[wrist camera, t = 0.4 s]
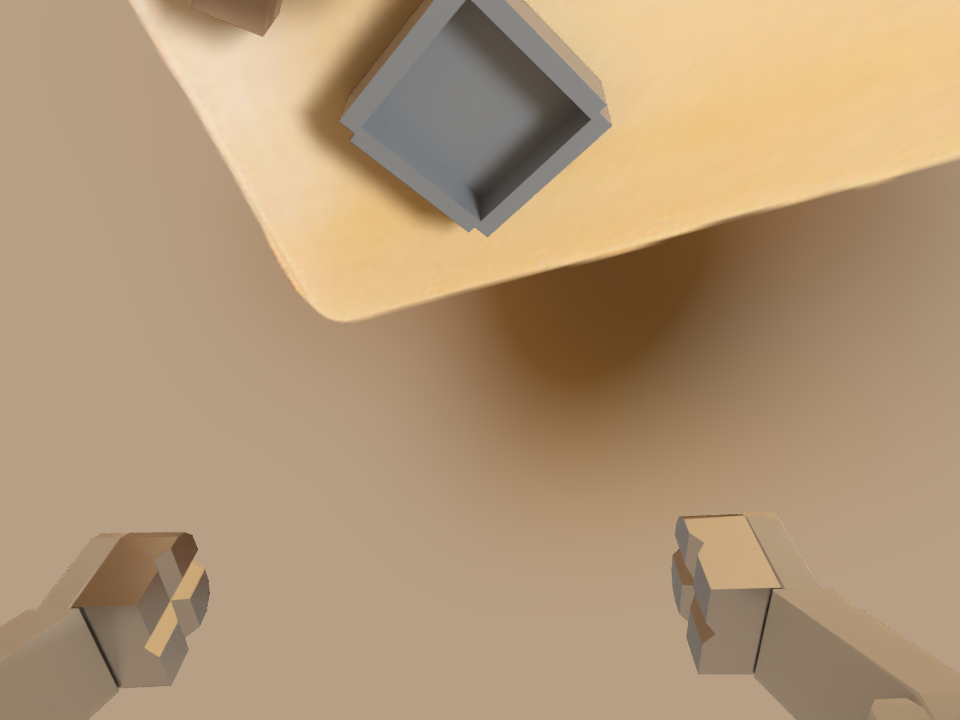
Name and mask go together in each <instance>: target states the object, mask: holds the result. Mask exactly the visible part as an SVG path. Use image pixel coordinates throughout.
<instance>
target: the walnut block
mask: <svg viewBox="0 0 960 720" xmlns="http://www.w3.org/2000/svg"><path fill="white" fill-rule="evenodd" d="M280 6H281V0H192V8H193V9H195V10H198V11H200V12H203V13H205V14H208V15H210V16H213V17H215V18H218V19H220V20H223V21H225V22H228V23H230V24H233V25H235V26H237V27H240V28H242V29H245V30H247V31H250V32H252V33H255V34H257V35H260V36H262V37H263V36H264V35H265V33H266V32H267V30H268V29H269V27H270V26H271V25H272V23H273V22H274V20H275V19H276V17H277V16H278V14H279V12H280Z"/></svg>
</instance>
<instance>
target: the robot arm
mask: <svg viewBox="0 0 960 720" xmlns="http://www.w3.org/2000/svg"><path fill="white" fill-rule="evenodd" d="M675 537H676V539H677V542H678V545H679V548H680V549H678V550H677V552H676V553H674V555H673V558H672V584H673V585H672V586H673V592H674V597H675V601H676V605H677V608H678V612H679V614H680V615H681V616H682V617H684V618H685V619H686V620H687V621H688V629H687V641H688V644H689V647H690V650H691V653H692V656H693V659H694V662H695V665H696V668H697V672H698V674H755V675H754V678H756V680H758V681H759V683H760V684H761V685H762V686H763V687H764V688H765V689H766V690H767V691H768V692H769V693H770V694H771V695H772V696H773V697H774V698H775V699H776V700H777V701H778V702H779V703H780V704H781V705H782V706H783V707H784V708H785V709H786V710H787V711H788V712H789V713H790V714H791V715H792V716H793V717H794V718H795V719H796V720H960V674H959V673H958V672H956V671H955V670H953V669H952V668H950V667H949V666H947V665H946V664H944V663H943V662H941V661H940V660H938V659H937V658H935V657H934V656H932V655H930V654H929V653H927V652H926V651H924V650H923V649H921V648H920V647H918V646H917V645H915V644H914V643H912V642H911V641H909V640H908V639H906V638H905V637H903V636H902V635H900V634H899V633H897V632H896V631H894V630H893V629H891V628H890V627H888V626H886V625H885V624H883V623H882V622H880V621H879V620H877V619H876V618H874V617H873V616H871V615H870V614H868V613H867V612H865V611H863V610H862V609H861V608H859V607H858V606H856V605H854V604H853V603H851V602H850V601H848V600H847V599H845V598H844V597H842V596H841V595H839V594H838V593H836V592H835V591H833V590H832V589H830V588H819V586H818V584H817V582H816V581H815V579H814V577H813V576H812V574H811V573H810V570H809V569H808V567H807V565H806V563H805V562H804V560H803V558H802V557H801V555H800V553H799V552H798V550H797V548H796V546H795V545H794V543H793V541H792V539H791V538H790V536H789V534H788V533H787V531H786V529H785V527H784V526H783V524H782V522H781V520H780V519H779V517H778V516H777V515H776V514H774V513H773V512H761V513H742V514H728V515H701V516H679V518H678V521H677V523H676V531H675ZM197 551H198V548H197V545H196V543H195V540H194V538H193V535H191V534H188V533H186V532H158V533H156V532H155V533H128V534H126V533H123V534H122V533H121V534H120V533H118V534H117V533H109V534H107V533H102V534H99V535H97V536H95V537H93V538H91V540H90V541H89V542H88V543H87V545H86V546H85V547H84V549H83V550H82V551H81V553H80V554H79V555H78V556H77V558H76V559H75V560H74V562H73V563H72V564H71V565H70V567H69V568H68V569H67V571H66V572H65V573H64V574H63V576H62V577H61V578H60V580H59V581H58V583H57V584H56V585H55V586H54V587H53V589H52V590H51V591H50V593H49V594H48V596H47V597H46V598H45V599H44V600H43V602H42V603H41V604H40V606H39V607H38V608H37V609H36V610H26V611H24V612H23V613H21V614H20V615H18V616H16V617H15V618H13V619H12V620H10V621H8V622H7V623H5V624H4V625H2V626H0V720H89V719H90V718H91V717H92V716H93V715H94V714H95V713H96V712H97V711H99V709H101V708H102V706H104V705H105V704H106V703H107V702H108V701H109V700H110V699H111V698H112V697H113V696H114V695H115V694H117V693H118V692H119V690H118V688H135V687H155V686H171V685H172V683H173V681H174V679H175V677H176V675H177V673H178V671H179V669H180V666H181V664H182V662H183V660H184V658H185V656H186V654H187V652H188V650H189V649H188V646H187V643H186V639H185V638H186V637H187V636H188V635H189V634H191V633H192V632H193V631H194V630H196V629H197V628H198V627H199V626H200V625H201V622H202V620H203V618H204V616H205V613H206V611H207V606H208V600H209V595H210V591H209V580H208V577H207V574H206V571H205V569H204V568H203V567H202V566H200V565H199V564H198V563H197V562H195V561H194V560H193V558H194V556H195V554H196V553H197Z"/></svg>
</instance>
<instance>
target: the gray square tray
mask: <svg viewBox="0 0 960 720" xmlns="http://www.w3.org/2000/svg"><path fill="white" fill-rule="evenodd" d="M339 122H340V123H342V124H343V125H344V126H346V127H347V128H348V129H349V130H351V131H352V132H353V134H352V137H351V139H350V141H351V142H352V143H353V144H354V145H356V146H357V147H358V148H360V149H361V150H362V151H364V152H365V153H366V154H367V155H369V156H370V157H371V158H373V159H374V160H375V161H377V162H378V163H379V164H380V165H382V166H383V167H384V168H386V169H387V170H388V171H390V172H391V173H392V174H393V175H395V176H396V177H397V178H399V179H400V180H401V181H403V182H404V183H405V184H406V185H408V186H409V187H410V188H412V189H413V190H414V191H415V192H417V193H418V194H419V195H421V196H422V197H423V198H425V199H426V200H427V201H428V202H430V203H431V204H432V205H434V206H435V207H436V208H438V209H439V210H440V211H441V212H443V213H444V214H445V215H447V216H448V217H449V218H451V219H452V220H453V221H454V222H456V223H457V224H458V225H460V226H461V227H462V228H464V229H465V230H466V231H467V232H470V231H471V230H472V229H473V228H474V227H475V228H476V229H478V230H479V231H480V232H482V233H483V234H484V235H485V236H487V237H488V236H490V235H491V234H492V233H493V232H494V231H495V230H496V229H497V228H499V227H500V226H501V225H502V224H503V223H504V222H505V221H506V220H507V219H509V218H510V217H511V216H512V215H513V214H514V213H515V212H516V211H517V210H519V209H520V208H521V207H522V206H523V205H524V204H525V203H526V202H528V201H529V200H530V199H531V198H532V197H533V196H534V195H535V194H536V193H538V192H539V191H540V190H541V189H542V188H543V187H544V186H545V185H547V184H548V183H549V182H550V181H551V180H552V179H553V178H554V177H555V176H557V175H558V174H559V173H560V172H561V171H562V170H563V169H564V168H566V167H567V166H568V165H569V164H570V163H571V162H572V161H573V160H574V159H576V158H577V157H578V156H579V155H580V154H581V153H582V152H583V151H584V150H586V149H587V148H588V147H589V146H590V145H591V144H592V143H593V142H595V141H596V140H597V139H598V138H599V137H600V136H601V135H602V134H603V133H605V132H606V131H607V130H608V129H609V128H610V127H611V126H612V123H611V119H610V115H609V111H608V107H607V103H606V99H605V95H604V91H603V87H602V83H601V81H600V80H599V78H598V77H597V76H596V75H595V74H594V73H593V72H592V71H591V70H590V69H589V68H588V67H587V66H586V65H585V64H584V63H583V62H582V61H581V60H580V59H579V58H578V56H577V55H576V54H575V53H574V52H573V51H572V50H571V49H570V48H569V47H568V46H567V45H566V44H565V43H564V42H563V41H562V40H561V39H560V38H559V37H558V36H557V34H556V33H555V32H554V31H553V30H552V29H551V28H550V27H549V26H548V25H547V24H546V23H545V22H544V21H543V20H542V19H541V18H540V17H539V16H538V15H537V14H536V12H535V11H534V10H533V9H532V8H531V7H530V6H529V5H528V4H527V3H526V2H525V1H524V0H424V1H423V2H422V3H421V4H420V6H419V7H418V8H417V10H416V11H415V12H414V13H413V15H412V16H411V17H410V19H409V20H408V21H407V22H406V24H405V25H404V26H403V28H402V29H401V30H400V31H399V33H398V34H397V35H396V37H395V38H394V39H393V40H392V42H391V43H390V44H389V46H388V47H387V48H386V49H385V51H384V52H383V53H382V54H381V56H380V57H379V58H378V60H377V61H376V62H375V63H374V65H373V66H372V67H371V69H370V70H369V71H368V72H367V74H366V75H365V76H364V78H363V79H362V80H361V81H360V83H359V84H358V85H357V87H356V88H355V89H354V90H353V92H352V93H351V94H350V96H349V97H348V99H347V102H346V104H345V107H344V110H343V112H342V115H341V117H340V120H339Z"/></svg>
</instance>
